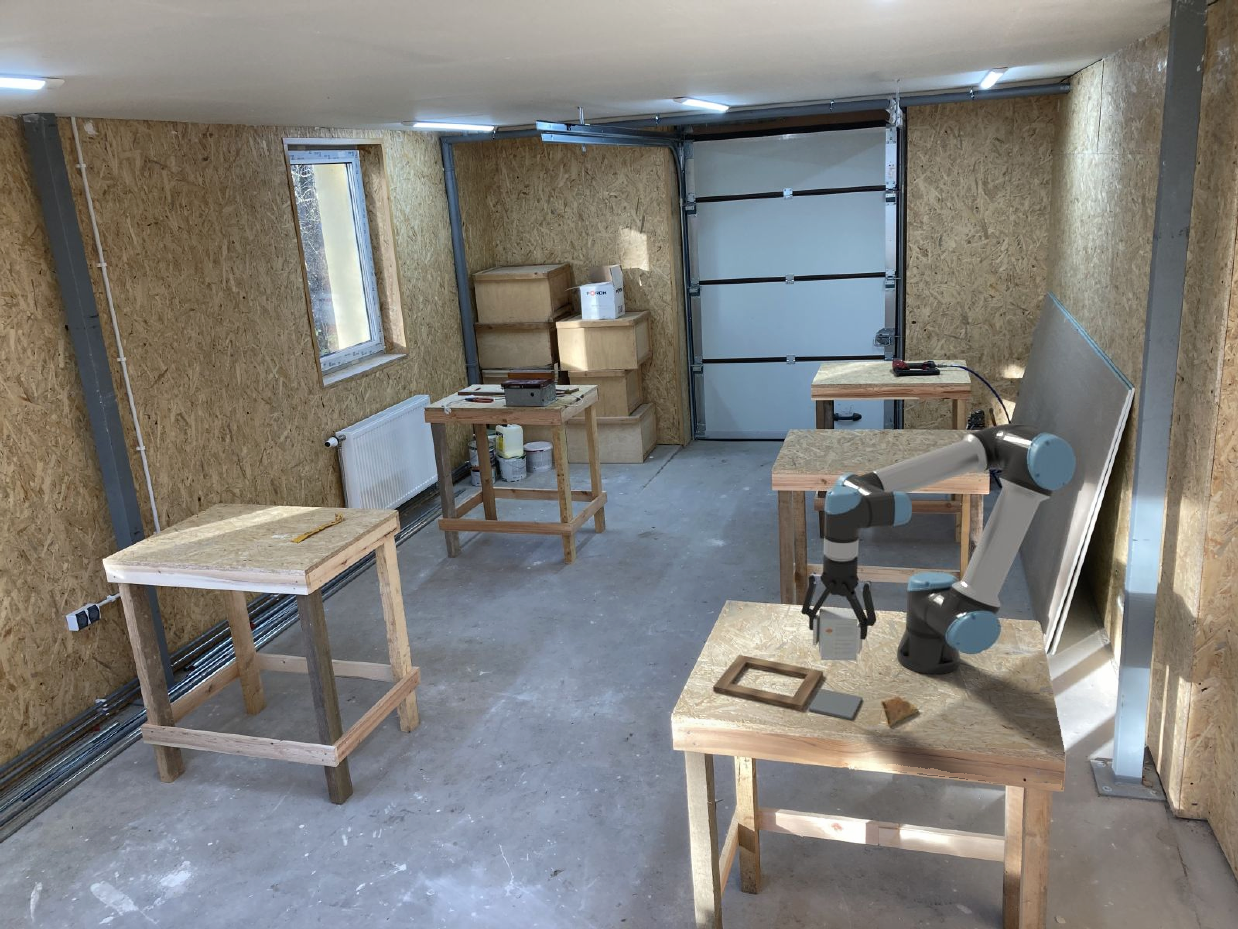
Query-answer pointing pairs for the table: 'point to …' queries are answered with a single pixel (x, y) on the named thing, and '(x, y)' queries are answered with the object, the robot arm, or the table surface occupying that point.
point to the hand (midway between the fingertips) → (837, 647)
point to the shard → (897, 710)
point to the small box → (837, 634)
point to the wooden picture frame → (794, 702)
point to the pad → (835, 704)
